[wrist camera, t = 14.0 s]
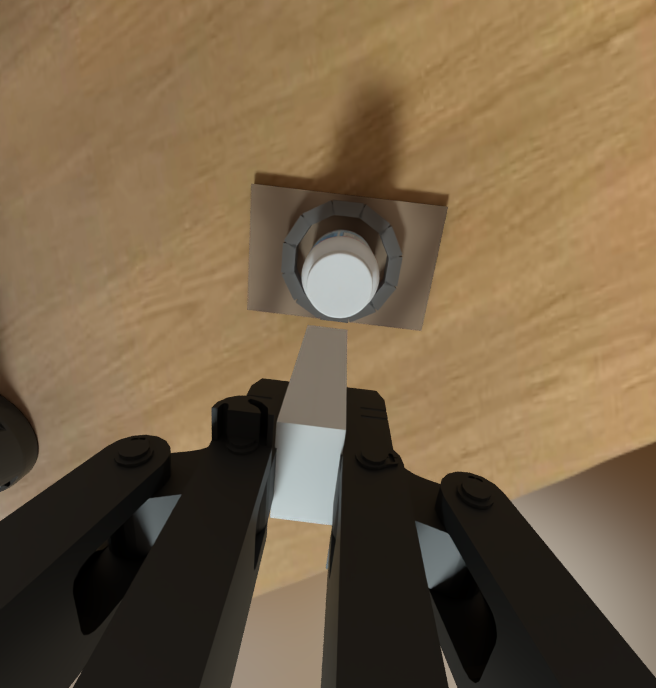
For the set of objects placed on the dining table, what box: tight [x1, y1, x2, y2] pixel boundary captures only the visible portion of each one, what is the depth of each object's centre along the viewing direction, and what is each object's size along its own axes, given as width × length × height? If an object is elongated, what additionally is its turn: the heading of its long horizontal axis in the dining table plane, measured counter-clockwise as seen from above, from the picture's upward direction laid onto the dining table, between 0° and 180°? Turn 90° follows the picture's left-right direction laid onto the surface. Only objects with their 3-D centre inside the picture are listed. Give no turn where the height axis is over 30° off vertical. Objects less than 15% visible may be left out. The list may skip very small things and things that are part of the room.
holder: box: [247, 184, 448, 331], centre depth 36 cm, size 18×12×3 cm, turn 84°
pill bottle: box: [302, 229, 379, 318], centre depth 31 cm, size 6×6×11 cm
